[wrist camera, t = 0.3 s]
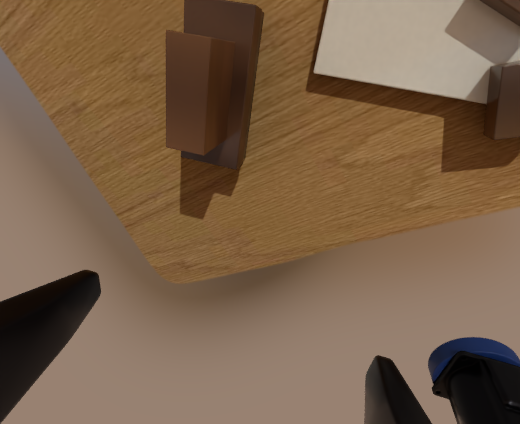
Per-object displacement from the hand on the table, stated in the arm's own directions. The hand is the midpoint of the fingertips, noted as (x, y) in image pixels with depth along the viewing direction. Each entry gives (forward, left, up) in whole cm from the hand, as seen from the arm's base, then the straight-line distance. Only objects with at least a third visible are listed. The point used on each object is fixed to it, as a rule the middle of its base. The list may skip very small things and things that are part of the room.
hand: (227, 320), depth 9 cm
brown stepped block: (+5, +6, -16) cm, 18 cm away
